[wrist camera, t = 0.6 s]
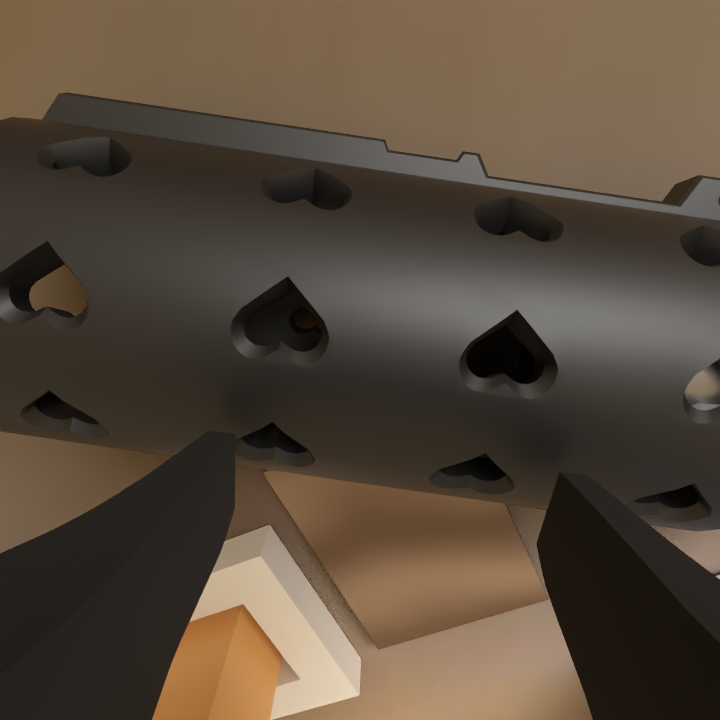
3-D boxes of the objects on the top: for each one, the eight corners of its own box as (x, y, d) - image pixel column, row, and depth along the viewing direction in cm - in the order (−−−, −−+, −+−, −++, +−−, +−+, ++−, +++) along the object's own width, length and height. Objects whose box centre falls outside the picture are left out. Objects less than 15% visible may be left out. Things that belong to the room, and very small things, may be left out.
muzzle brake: (-95, -18, 10) (-120, 490, 11) (1307, 192, 10) (1149, 672, 11) (127, 138, 20) (101, 405, 21) (855, 246, 20) (792, 505, 21)
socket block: (360, 658, 28) (359, 695, 26) (205, 704, 30) (194, 741, 28) (269, 524, 25) (260, 555, 23) (101, 586, 27) (80, 619, 25)
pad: (544, 589, 25) (548, 599, 25) (378, 639, 27) (378, 649, 27) (454, 390, 21) (456, 397, 21) (265, 465, 23) (262, 473, 23)
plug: (284, 644, 27) (256, 787, 21) (219, 664, 28) (175, 807, 22) (245, 592, 26) (204, 730, 20) (179, 615, 27) (120, 753, 21)
